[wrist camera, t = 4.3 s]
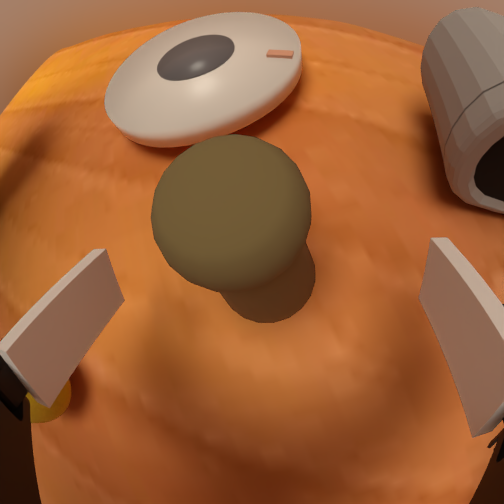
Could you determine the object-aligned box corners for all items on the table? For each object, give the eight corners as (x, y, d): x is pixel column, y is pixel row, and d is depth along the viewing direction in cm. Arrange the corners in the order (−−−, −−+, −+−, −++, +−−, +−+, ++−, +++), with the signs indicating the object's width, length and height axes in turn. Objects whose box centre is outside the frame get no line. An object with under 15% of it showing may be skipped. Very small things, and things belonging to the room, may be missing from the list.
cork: (215, 238, 20) (129, 136, 9) (305, 220, 19) (299, 91, 8) (225, 329, 18) (120, 309, 7) (323, 313, 17) (354, 272, 6)
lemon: (66, 425, 17) (-6, 437, 10) (40, 369, 19) (-31, 365, 11) (101, 400, 17) (20, 411, 10) (71, 339, 19) (-8, 328, 12)
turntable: (84, 146, 23) (70, 132, 20) (164, 33, 27) (158, 20, 25) (275, 159, 18) (271, 137, 16) (315, 27, 22) (314, 10, 20)
